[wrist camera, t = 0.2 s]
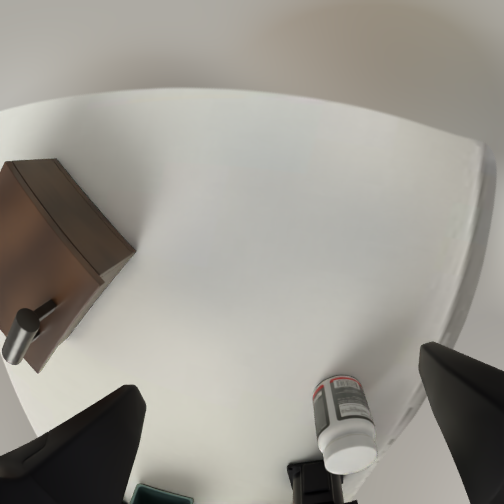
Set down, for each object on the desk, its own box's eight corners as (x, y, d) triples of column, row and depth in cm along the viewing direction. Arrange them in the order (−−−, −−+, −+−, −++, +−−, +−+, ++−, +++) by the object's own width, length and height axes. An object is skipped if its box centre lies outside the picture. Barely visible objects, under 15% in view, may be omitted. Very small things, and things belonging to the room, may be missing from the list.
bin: (136, 251, 23) (100, 275, 18) (68, 336, 26) (37, 365, 21) (56, 158, 22) (11, 160, 16) (5, 257, 25) (-31, 273, 19)
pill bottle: (327, 417, 26) (336, 484, 18) (302, 390, 26) (307, 461, 17) (370, 394, 25) (391, 460, 17) (348, 365, 24) (368, 434, 16)
